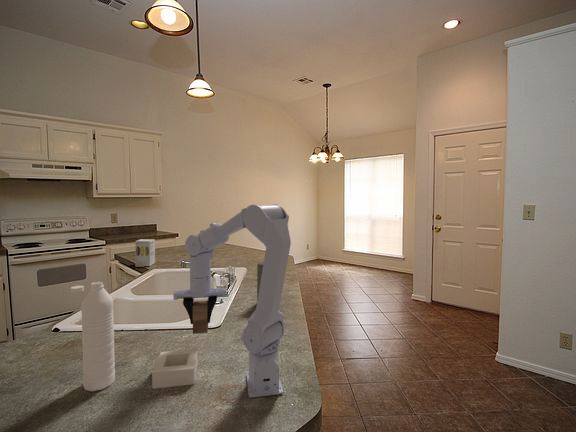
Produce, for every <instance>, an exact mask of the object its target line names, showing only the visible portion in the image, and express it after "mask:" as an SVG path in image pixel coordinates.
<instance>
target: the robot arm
mask: <svg viewBox="0 0 576 432" xmlns="http://www.w3.org/2000/svg"><path fill="white" fill-rule="evenodd" d="M289 219H290V215H289V214H288V213H287V212H286V210H285V209H284V207H283V206H282V205H280V204H276V203H275V204H263V205H261V204H259V205H258V204H251V205H248V206H247V207H244V208H242V209H241V210H240V212H239V213H236V214H235V215H234V216H232V217H231V218H229V219H228V220H227V221H225V222H223V223H220V222H219V223H218V222H212V223H210V224H209V227H208V228H206V229H202V230H200V231H199V233H198V234H196V235H195V234H190V235H189V236H188V237H187V238H186V240H185V243H184V247H185V248H184V249H185V251H186V253H187V254H188V255H189V289H184V290H175V291H174V292H173V295H172V296H173V301H176V300H182V304H183V307H184V308H185V310H186V312H187V314H188V317H189V318H188V319H189V321H190V322H189V323H190V324H191V325H193V303H194V301H195V299H203V298H207V301H208V318H207V320H208V324H210V323H211V318H212V315H213V314H212V313H213V310H214V309H215V306H216V304H217V301H218V298H227V288H214V287H213V288H211V286H212V284H211V283H212V280H211V279H212V278H211V277H212V276H211V275H212V273H211V272H212V271H211V269H212V268H211V267H212V266H211V265H212V264H211V263H212V261H211V260H212V259H213V253H214V251H215V249H216V248H217V247H220V246H222V245H224V244H226V243H227V242H228V241H229V239H230V236H231V235H233V234H235V233H237V232H239V231H241V230H243V229H246V230H248V231H249V232H250V233H251V234H252V235H253V236H254V237H255V238H257V240H258V241H259V242H261V243H262V244H263V245H264V246H265V253H264V259H263V262H264V264H263V270H262V276H261V282H260V288H259V294H258V300H257V299H256V306H255V307H256V308H255V310H254V311H253V313H252V314H251V315H250V316H249V318H248V320H247V325H246V327H244V329H243V331H242V336H241V337H242V342H243V345H244V347H245V348H246V350H247V352H248V371H247V372H246V373H245V374H246V382H247V391H248V393H247V394H248V397H249V398H250V399H251V398H258V397H260V398H261V397H267V396H275V395H283V394H284V390H283V386H282V382H281V379H280V366H279V345H280V341H281V338H283V336H284V334H285V326H284V325H285V324H284V318H285V317H284V316H285V315H284V314H283V313H282V312H281V311H280V305H281V301H282V300H281V299H282V295H283V288H284V284H285V283H284V282H285V279H286V277H285V276H286V274H287V273H286V272H287V268H288V267H287V266H288V261H289V256H290V251H291V244H292V243H291V236H290V231H289Z"/></svg>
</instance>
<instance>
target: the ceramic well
mask: <svg viewBox="0 0 576 432" xmlns="http://www.w3.org/2000/svg"><path fill="white" fill-rule="evenodd" d="M198 351H199V350H198V348H194V349H191V348H190V349H183V350H181V349H180V350H170V351H161V352H160V353H159V356H158V358H157V361H156V362H155V365H154V368H153V369H152V372H151V377H152V378H151V379H152V380H151V382H152V386H151V387H152V390H155V389H156V390H157V389H165V388H172V387H173V388H174V387H183V386H192V385H194V384H195V381H196V374H197V368H198V363H199V361H198V360H199V358H198V357H199V356H198V355H199V354H198V353H199V352H198Z"/></svg>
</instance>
